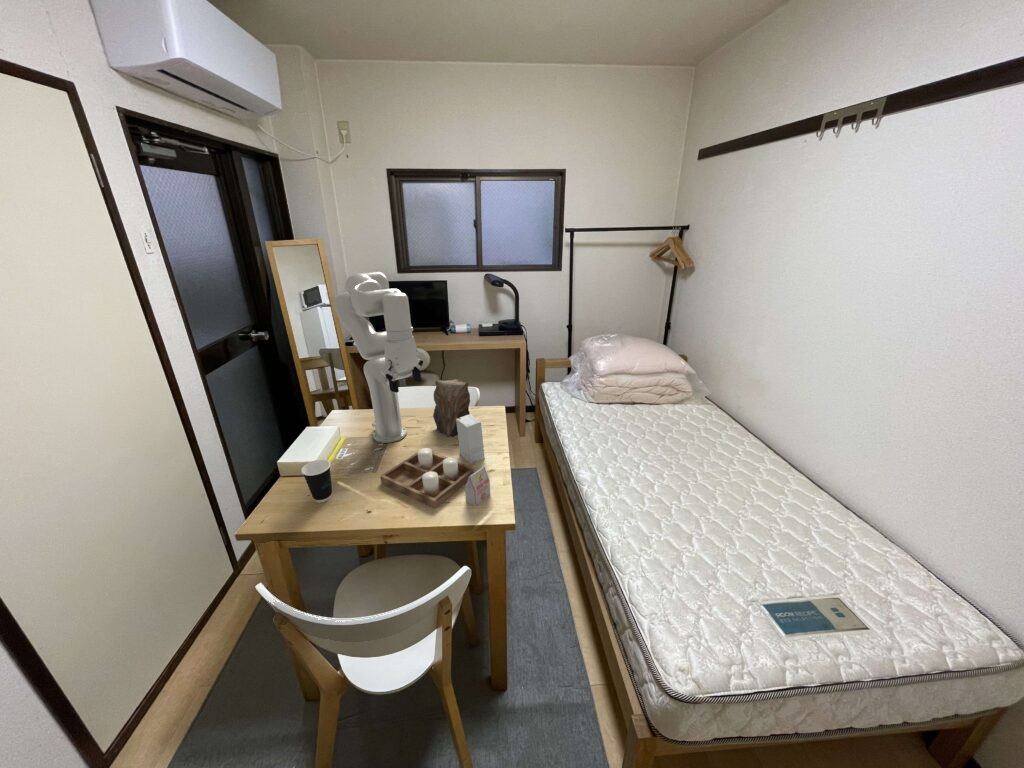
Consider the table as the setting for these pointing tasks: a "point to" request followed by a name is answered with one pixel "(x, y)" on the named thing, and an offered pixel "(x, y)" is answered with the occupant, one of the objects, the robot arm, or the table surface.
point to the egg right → (450, 468)
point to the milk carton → (477, 487)
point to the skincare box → (470, 438)
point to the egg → (431, 484)
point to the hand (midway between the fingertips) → (406, 386)
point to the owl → (450, 405)
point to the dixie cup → (318, 479)
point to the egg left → (425, 458)
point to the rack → (411, 484)
